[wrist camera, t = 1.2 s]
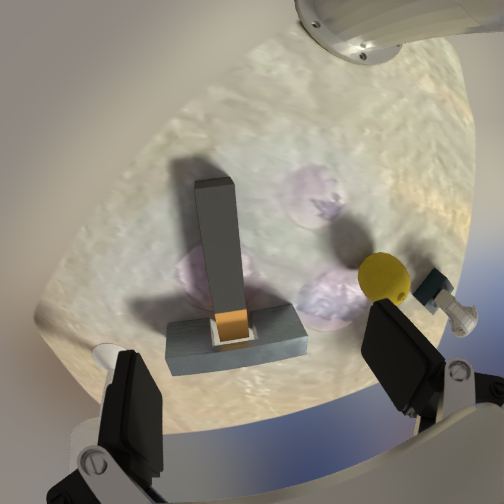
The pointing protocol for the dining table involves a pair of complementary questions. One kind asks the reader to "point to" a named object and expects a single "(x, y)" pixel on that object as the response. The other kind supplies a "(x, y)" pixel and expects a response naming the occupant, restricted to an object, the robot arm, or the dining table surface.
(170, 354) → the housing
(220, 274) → the plug
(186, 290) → the dining table surface
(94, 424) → the champagne flute
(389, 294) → the lemon
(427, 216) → the dining table surface
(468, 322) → the watch
